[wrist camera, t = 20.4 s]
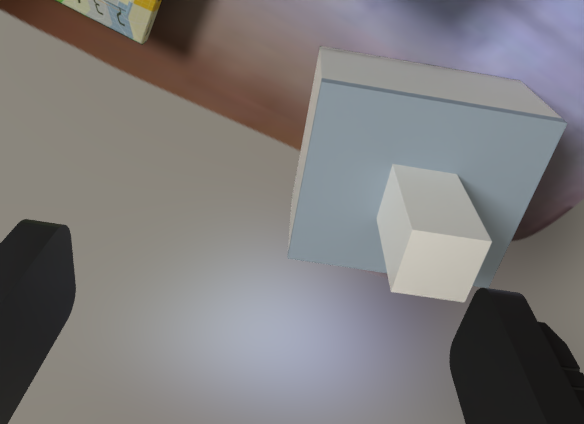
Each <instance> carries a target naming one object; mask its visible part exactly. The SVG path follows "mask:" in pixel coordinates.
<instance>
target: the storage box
mask: <svg viewBox="0 0 584 424" xmlns="http://www.w3.org/2000/svg"><path fill="white" fill-rule="evenodd" d="M322 78H325V79H331V80H337V81H343V82H349V83H355V84H361V85H367V86H373V87H378V88H384V89H390V90H396V91H402V92H408V93H414V94H420V95H426V96H432V97H438V98H444V99H450V100H456V101H462V102H467V103H473V104H479V105H485V106H491V107H497V108H503V109H509V110H515V111H521V112H527V113H533V114H539V115H545V116H551V117H557V118H561V117H560V116H559V115H558V114H557V113H556V112H555V111H553V110H552V109H551V108H550V107H549V106H548V105H547V104H546V103H545V102H543V101H542V100H541V99H540V98H539V97H538V96H537V95H536V94H535V93H533V92H532V91H531V90H530V89H529V88H528V87H527V86H526V85H525V84H523V83H522V82H521V81H520V80H514V79H508V78H503V77H497V76H491V75H485V74H479V73H474V72H468V71H462V70H456V69H450V68H444V67H439V66H433V65H427V64H421V63H415V62H410V61H404V60H398V59H392V58H386V57H381V56H375V55H369V54H363V53H357V52H351V51H346V50H340V49H334V48H328V47H322V46H320V49H319V55H318V60H317V66H316V71H315V76H314V82H313V87H312V93H311V98H310V103H309V109H308V114H307V119H306V125H305V130H304V136H303V141H302V146H301V152H300V157H299V163H298V169H297V174H296V179H295V185H294V190H293V195H292V202H291V216H290V230H289V244H290V239H291V234H292V229H293V224H294V219H295V213H296V208H297V203H298V198H299V193H300V187H301V182H302V177H303V172H304V167H305V162H306V156H307V151H308V146H309V141H310V136H311V130H312V125H313V120H314V115H315V110H316V105H317V99H318V94H319V89H320V84H321V79H322ZM288 250H289V246H288Z"/></svg>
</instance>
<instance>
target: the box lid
mask: <svg viewBox="0 0 584 424" xmlns="http://www.w3.org/2000/svg"><path fill="white" fill-rule="evenodd" d="M566 125H567V122H566V121H565V120H563V119H562V118H557V117H551V116H545V115H539V114H533V113H527V112H521V111H515V110H509V109H503V108H497V107H491V106H485V105H479V104H473V103H467V102H462V101H456V100H450V99H444V98H438V97H432V96H426V95H420V94H414V93H408V92H402V91H396V90H390V89H384V88H378V87H373V86H367V85H361V84H355V83H349V82H343V81H337V80H331V79H325V78H322V79H321V84H320V89H319V94H318V99H317V105H316V110H315V115H314V120H313V125H312V130H311V136H310V141H309V146H308V151H307V156H306V162H305V167H304V172H303V177H302V182H301V187H300V193H299V198H298V203H297V208H296V213H295V219H294V224H293V229H292V234H291V239H290V244H289V250H288V259H295V260H302V261H309V262H315V263H322V264H329V265H336V266H342V267H349V268H356V269H362V270H369V271H376V272H383V273H387V269H386V264H385V259H384V254H383V249H382V244H381V239H380V234H379V229H378V224H377V219H376V218H377V215H378V212H379V208H380V205H381V201H382V198H383V195H384V191H385V188H386V185H387V181H388V178H389V174H390V171H391V168H392V164H397V165H403V166H409V167H416V168H422V169H428V170H434V171H441V172H447V173H453V174H457V175H458V177H459V179H460V181H461V183H462V185H463V187H464V189H465V191H466V193H467V195H468V196H469V198H470V200H471V202H472V204H473V206H474V208H475V210H476V212H477V214H478V216H479V218H480V219H481V221H482V223H483V225H484V227H485V229H486V231H487V233H488V235H489V237H490V239H491V241H492V243H491V245H490V248H489V250H488V252H487V254H486V256H485V259H484V261H483V263H482V265H481V267H480V270H479V272H478V274H477V276H476V278H475V281H474V283H473V285H472V286H477V287H484V288H489V286H490V284H491V281H492V279H493V277H494V275H495V273H496V271H497V269H498V267H499V265H500V263H501V261H502V258H503V256H504V254H505V252H506V250H507V248H508V246H509V244H510V242H511V240H512V238H513V236H514V234H515V231H516V229H517V227H518V225H519V223H520V221H521V219H522V217H523V215H524V213H525V211H526V209H527V206H528V204H529V202H530V200H531V198H532V196H533V194H534V192H535V190H536V188H537V186H538V184H539V181H540V179H541V177H542V175H543V173H544V171H545V169H546V167H547V165H548V163H549V161H550V159H551V156H552V154H553V152H554V150H555V148H556V146H557V144H558V142H559V140H560V138H561V136H562V134H563V131H564V129H565V127H566Z"/></svg>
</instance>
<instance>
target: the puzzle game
mask: <svg viewBox="0 0 584 424" xmlns="http://www.w3.org/2000/svg"><path fill="white" fill-rule="evenodd" d="M55 1H57V2H59V3H61V4H63V5H65V6H67V7H69V8H71V9H73V10H75V11H77V12H79V13H81V14H83V15H85V16H87V17H89V18H91V19H93V20H95V21H97V22H99V23H100V24H102V25H104V26H106V27H108V28H110V29H112V30H114V31H116V32H118V33H120V34H122V35H124V36H126V37H128V38H130V39H132V40H134V41H136V42H138V43H140V44H142V45H143V44H144V43H145V42H146V41H147V39H148V36H149V34H150V31H151V29H152V26H153V23H154V20H155V17H156V15H157V12H158V9H159V6H160V3H161V1H162V0H55Z"/></svg>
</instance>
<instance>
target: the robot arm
mask: <svg viewBox="0 0 584 424" xmlns="http://www.w3.org/2000/svg"><path fill="white" fill-rule="evenodd" d="M75 292H76V284H75V274H74V264H73V253H72V243H71V234H70V230H69V228H68V227H67V226H66V225H61V224H55V223H48V222H41V221H35V220H28V219H25V220H22V221H20V222H19V223H18V224H17V226H15V228H14V229H13V230H12V231H11V232H10V233H9V234H8V235H7V237H6V238H5V239H4V240H3V241H2V242H1V243H0V424H8V422H9V420H10V419H11V417H12V415H13V413H14V412H15V410H16V408H17V406H18V405H19V403H20V401H21V400H22V398H23V396H24V394H25V393H26V391H27V389H28V387H29V386H30V384H31V382H32V380H33V379H34V377H35V375H36V373H37V372H38V370H39V368H40V367H41V365H42V363H43V361H44V360H45V358H46V356H47V354H48V353H49V351H50V349H51V347H52V346H53V344H54V342H55V340H56V339H57V337H58V335H59V333H60V332H61V330H62V328H63V327H64V325H65V323H66V321H67V320H68V318H69V316H70V313H71V310H72V307H73V304H74V299H75ZM579 369H580V367H579V366H578V364H577V362H576V360H575V359H574V357H573V355H572V353H571V351H570V350H569V348H568V346H567V344H566V343H565V342H564V341H562V339H561V338H560V337H559V336H558V335H557V334H556V333H555V332H554V331H553V330H552V329H551V328H550V327H549V326H548V325H547V324H546V323H542V322H537V320H536V318H535V316H534V314H533V312H532V310H531V308H530V306H529V304H528V303H527V301H526V299H525V297H524V296H523V295H522V294H520V293H516V292H510V291H503V290H496V289H489V288H480V289H479V290H477V291H476V293H475V294H474V296H473V298H472V301H471V303H470V305H469V307H468V309H467V311H466V313H465V315H464V318H463V320H462V322H461V324H460V326H459V328H458V330H457V333H456V335H455V337H454V339H453V342H452V345H451V349H450V370H451V374H452V378H453V381H454V384H455V388H456V391H457V395H458V398H459V402H460V406H461V409H462V412H463V416H464V419H465V423H466V424H584V374H583V373H580V372H579Z"/></svg>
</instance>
